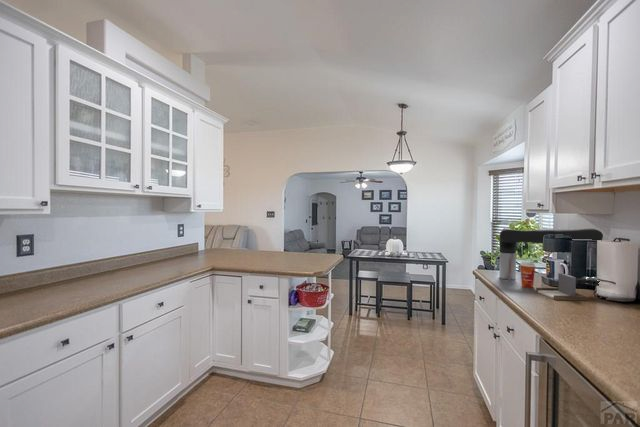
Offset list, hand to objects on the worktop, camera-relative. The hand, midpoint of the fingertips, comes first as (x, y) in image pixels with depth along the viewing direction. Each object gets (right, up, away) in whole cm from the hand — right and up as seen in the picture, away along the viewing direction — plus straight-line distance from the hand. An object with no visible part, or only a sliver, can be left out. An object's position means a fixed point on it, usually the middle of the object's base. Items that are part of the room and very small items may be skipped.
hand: (576, 281), depth 163 cm
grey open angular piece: (-10, -8, +1) cm, 13 cm away
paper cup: (-13, -8, +19) cm, 25 cm away
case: (-9, -8, +1) cm, 12 cm away
